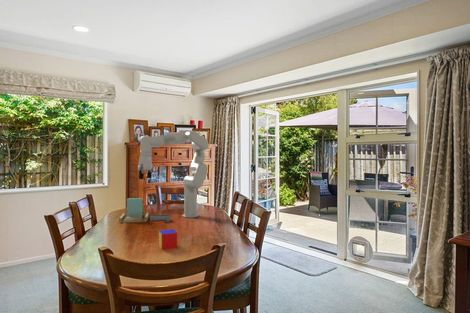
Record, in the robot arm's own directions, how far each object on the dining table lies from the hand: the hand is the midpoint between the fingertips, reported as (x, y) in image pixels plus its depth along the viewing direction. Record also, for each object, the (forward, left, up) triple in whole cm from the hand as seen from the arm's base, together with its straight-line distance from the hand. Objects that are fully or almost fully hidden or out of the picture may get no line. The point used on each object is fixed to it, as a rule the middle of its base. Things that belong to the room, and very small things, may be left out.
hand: (145, 178), depth 218 cm
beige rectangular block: (-2, -8, -30) cm, 31 cm away
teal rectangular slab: (-6, -8, -30) cm, 31 cm away
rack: (-6, -8, -31) cm, 33 cm away
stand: (-4, +10, -31) cm, 33 cm away
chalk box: (-26, -10, -31) cm, 42 cm away
